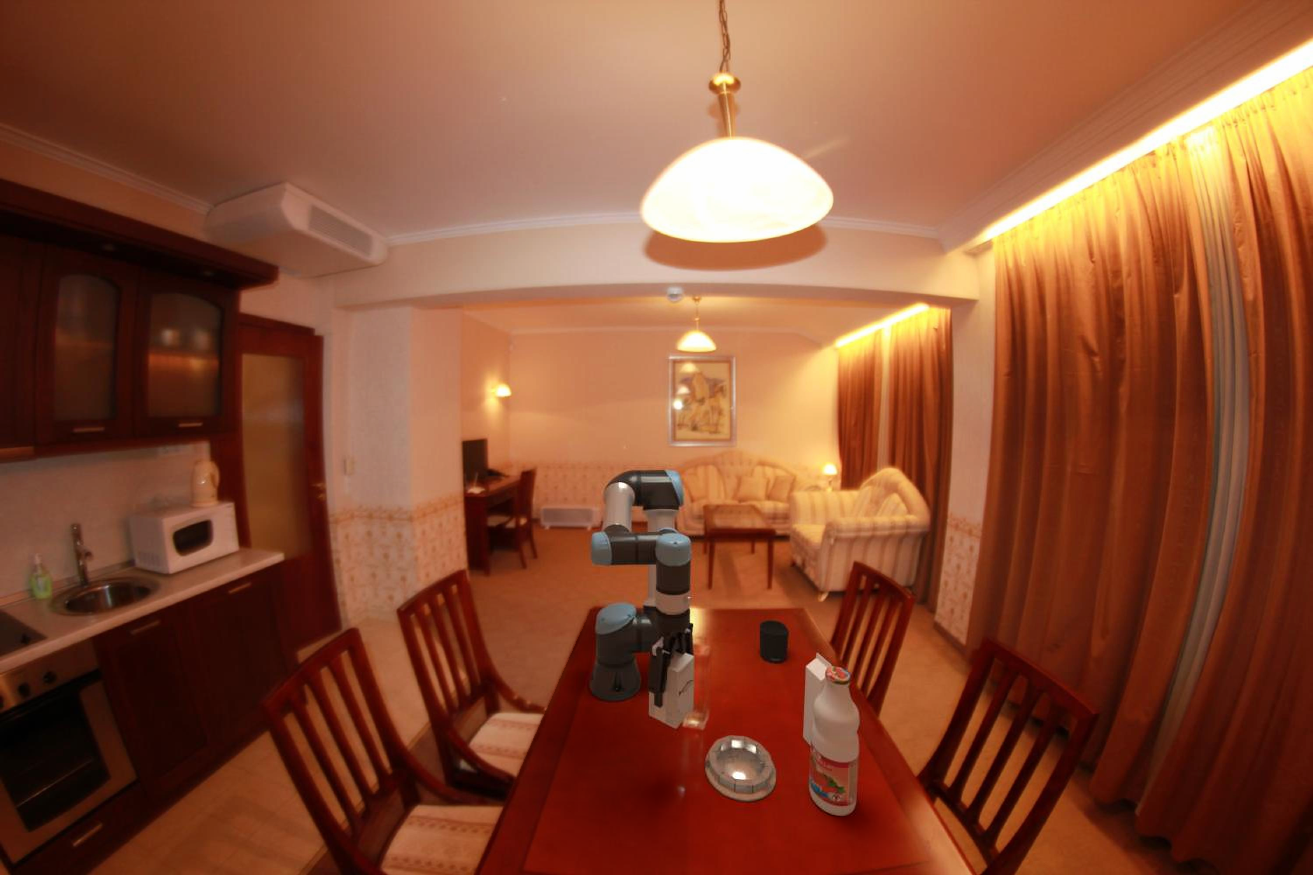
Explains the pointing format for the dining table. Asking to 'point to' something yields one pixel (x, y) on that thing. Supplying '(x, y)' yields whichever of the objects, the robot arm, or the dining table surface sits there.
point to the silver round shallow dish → (740, 768)
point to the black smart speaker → (773, 641)
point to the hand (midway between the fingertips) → (671, 707)
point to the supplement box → (677, 689)
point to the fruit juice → (834, 746)
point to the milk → (813, 691)
